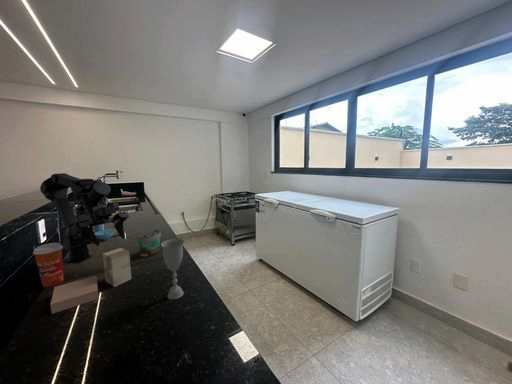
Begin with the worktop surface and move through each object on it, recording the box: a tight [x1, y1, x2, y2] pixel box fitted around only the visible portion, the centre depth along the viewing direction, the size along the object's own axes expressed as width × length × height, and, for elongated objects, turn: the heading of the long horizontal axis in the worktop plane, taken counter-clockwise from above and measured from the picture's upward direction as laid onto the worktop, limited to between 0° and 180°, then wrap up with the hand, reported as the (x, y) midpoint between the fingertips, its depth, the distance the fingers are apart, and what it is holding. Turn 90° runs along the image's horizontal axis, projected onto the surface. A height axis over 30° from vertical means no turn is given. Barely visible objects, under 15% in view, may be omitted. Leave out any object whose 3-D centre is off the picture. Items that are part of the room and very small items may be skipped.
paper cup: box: [32, 242, 64, 288], centre depth 77 cm, size 8×8×14 cm
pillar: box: [102, 247, 132, 288], centre depth 78 cm, size 6×6×11 cm
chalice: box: [160, 238, 185, 300], centre depth 70 cm, size 7×7×18 cm
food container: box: [137, 229, 162, 259], centre depth 101 cm, size 12×6×10 cm, turn 168°
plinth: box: [50, 275, 99, 314], centre depth 69 cm, size 11×11×3 cm
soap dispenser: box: [93, 224, 117, 241], centre depth 122 cm, size 18×10×9 cm, turn 53°
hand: (111, 241), depth 83 cm, fingers open, 9 cm apart
